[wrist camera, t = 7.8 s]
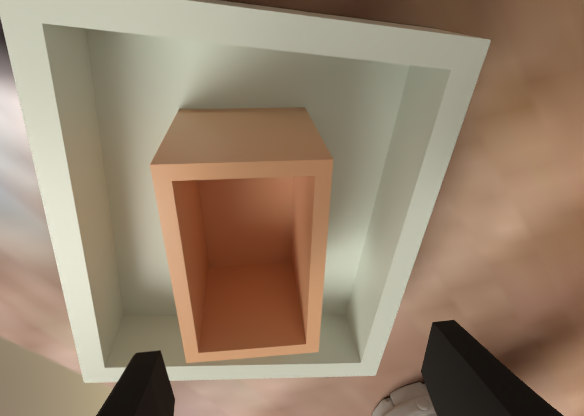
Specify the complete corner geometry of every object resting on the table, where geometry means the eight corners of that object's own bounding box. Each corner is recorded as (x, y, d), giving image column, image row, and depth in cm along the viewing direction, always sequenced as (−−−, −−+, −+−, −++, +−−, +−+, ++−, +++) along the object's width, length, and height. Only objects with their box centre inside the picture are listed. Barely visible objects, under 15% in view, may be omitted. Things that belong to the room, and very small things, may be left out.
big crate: (434, 28, 15) (491, 39, 12) (355, 317, 23) (375, 375, 20) (57, -22, 13) (-9, -26, 10) (110, 317, 21) (83, 382, 17)
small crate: (305, 107, 15) (333, 159, 11) (299, 263, 19) (318, 352, 15) (178, 109, 15) (149, 164, 10) (200, 269, 19) (186, 363, 14)
